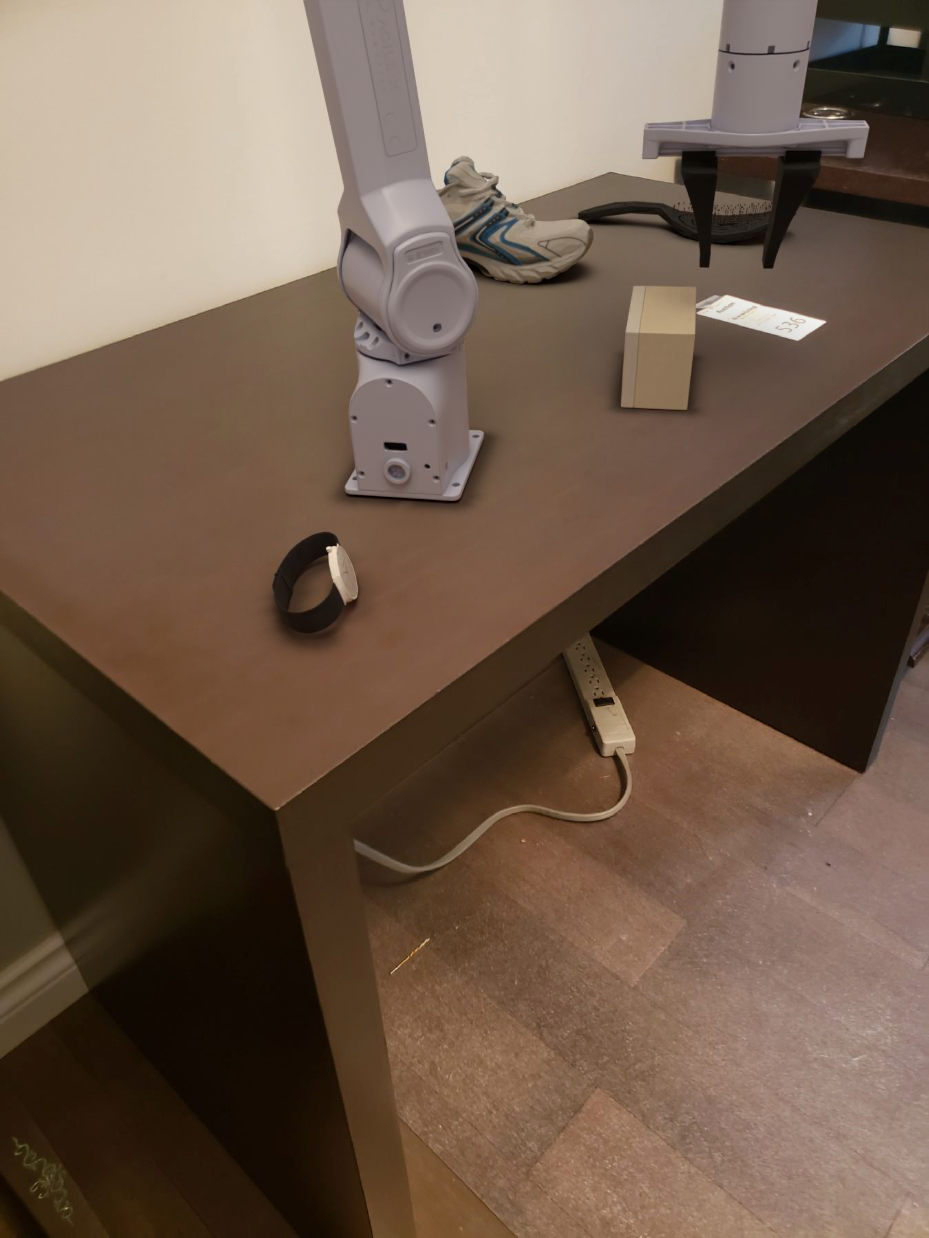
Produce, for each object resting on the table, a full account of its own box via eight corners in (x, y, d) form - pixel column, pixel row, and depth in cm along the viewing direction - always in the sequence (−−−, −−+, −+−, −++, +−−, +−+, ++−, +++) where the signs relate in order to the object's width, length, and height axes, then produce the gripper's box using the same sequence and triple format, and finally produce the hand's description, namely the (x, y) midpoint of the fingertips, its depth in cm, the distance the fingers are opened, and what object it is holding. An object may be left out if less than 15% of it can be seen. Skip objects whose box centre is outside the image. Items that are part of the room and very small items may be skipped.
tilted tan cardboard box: (686, 410, 71) (695, 333, 67) (620, 407, 72) (625, 331, 68) (688, 358, 79) (696, 286, 75) (628, 356, 80) (633, 285, 76)
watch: (355, 639, 51) (347, 586, 49) (269, 645, 51) (257, 592, 49) (360, 560, 57) (353, 509, 55) (283, 565, 57) (273, 514, 55)
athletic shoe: (588, 285, 93) (594, 150, 88) (367, 284, 97) (360, 156, 92) (597, 277, 102) (602, 154, 97) (394, 276, 106) (389, 159, 101)
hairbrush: (591, 185, 113) (805, 190, 103) (592, 217, 115) (801, 225, 105) (565, 203, 108) (787, 210, 97) (565, 237, 110) (783, 247, 99)
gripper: (874, 37, 62) (833, 248, 70) (652, 43, 65) (638, 245, 73) (890, 53, 56) (844, 279, 65) (647, 58, 59) (633, 275, 68)
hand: (735, 264), depth 69 cm, fingers open, 4 cm apart
